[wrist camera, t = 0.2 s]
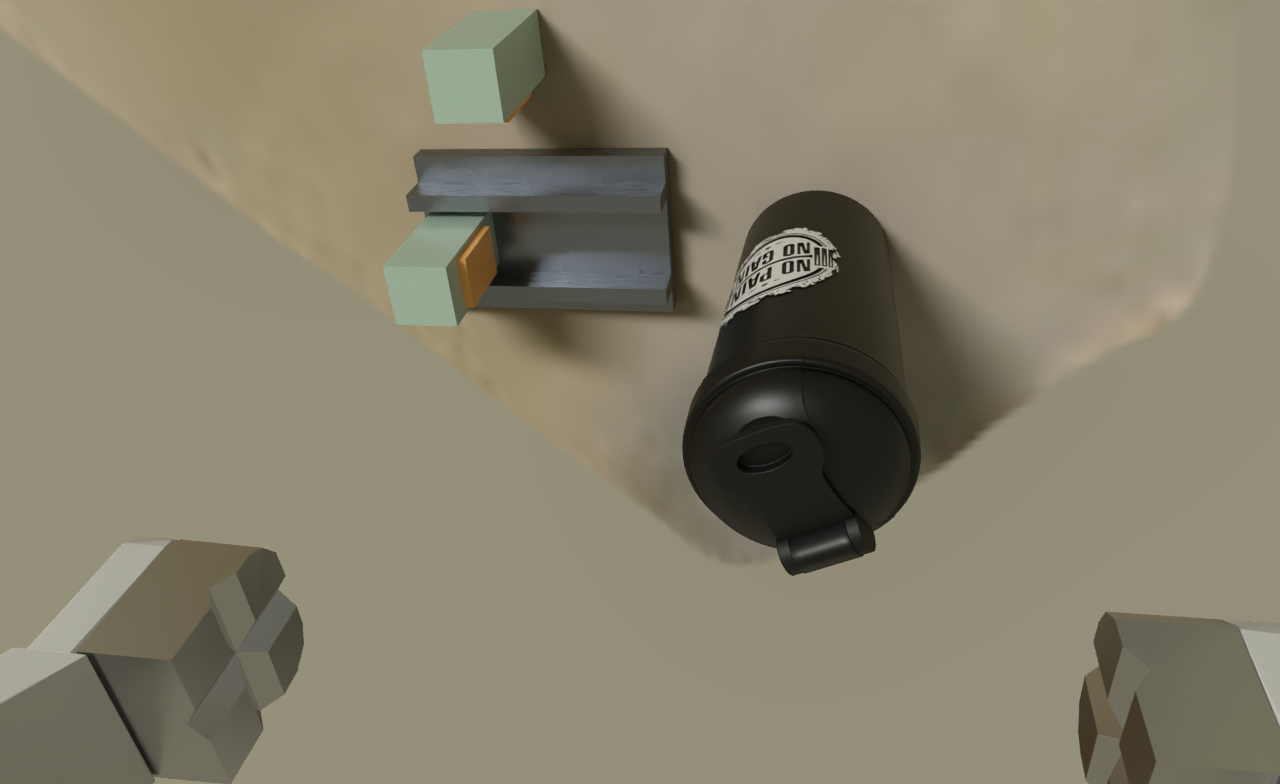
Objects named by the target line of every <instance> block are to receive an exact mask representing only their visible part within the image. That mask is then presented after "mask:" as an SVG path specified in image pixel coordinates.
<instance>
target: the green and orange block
mask: <svg viewBox="0 0 1280 784" xmlns="http://www.w3.org/2000/svg"><path fill="white" fill-rule="evenodd" d="M499 263H500V260H499V254H498V248H497V242H496V235H495V229H494V223H493V217H492V212H430V213H429V214H428V216H427V217H426V218H425V219H424V220H423V221H422V222H421V223H420V225H419V226H418V227H417V228H416V229H415V230H414V231H413V233H412V234H411V235H410V236H409V237H408V238H407V239H406V241H405V242H404V243H403V244H402V245H401V246H400V247H399V249H398V250H397V251H396V252H395V253H394V254H393V255H392V257H391V258H390V259H389V260H388V261H387V262H386V263H385V265H384V266H383V270H384V274H385V278H386V282H387V287H388V291H389V295H390V299H391V304H392V308H393V312H394V316H395V321H396V325H426V326H458V325H459V323H460V322H461V320H462V319H463V317H464V316H465V314H466V313H467V311H468V310H469V308H474V307H475V306H476V304H477V303H478V301H479V300H480V298H481V297H482V295H483V294H484V292H485V291H486V289H487V288H488V286H489V285H490V283H491V282H492V280H493V278H494V277H495V275H496V274H497V268H496V267H497V266H498V264H499Z"/></svg>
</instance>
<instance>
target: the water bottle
mask: <svg viewBox="0 0 1280 784" xmlns="http://www.w3.org/2000/svg"><path fill="white" fill-rule="evenodd" d="M729 296H730V297H728V299H729V300H728V303H727V305H726V308H725V309H726V310H725V312H724V314H723V319H722V321H721V325H720V326H721V327H720V328H719V329H720V330H719V335H717V336H718V338H717V342H716V345H715V349H714V352H713V356H712V359H711V363H710V366H709V369H708V373H707V376H706V377H705V378H704V380H703V382H702V383H701V385H700V386H699V388H698V390H697V391H696V393H695V395H694V397H693V400H692V402H691V405H690V409H689V413H688V417H687V421H686V425H685V429H684V434H683V444H682V449H683V461H684V466H685V470H686V473H687V476H688V478H689V481H690V483H691V485H692V487H693V488H694V490H695V492H696V493H697V495H698V496H699V498H700V499H701V500H702V502H703V503H704V504H705V505H706V506H707V507H708V508H709V509H710V510H711V511H712V512H713V513H714V514H715V515H716V516H717V517H718V518H719V519H721V520H722V521H723V522H724V523H725V524H726V525H728V526H729V527H730V528H732V529H733V530H734V531H736V532H738V533H739V534H741V535H743V536H744V537H746V538H748V539H750V540H753V541H755V542H757V543H760V544H763V545H766V546H769V547H773V548H777V552H778V555H779V558H780V561H781V563H782V565H783V567H784V568H785V570H786V571H787V572H788V573H789V574H790V575H792V576H794V575H797V574H801V573H809V572H812V571H815V570H819V569H822V568H825V567H828V566H832V565H835V564H839V563H842V562H845V561H849V560H852V559H855V558H859V557H862V556H863V555H864V554H867V553H870V552H873V551H875V548H876V542H875V536H874V532H873V531H875V530H876V529H878V528H880V527H881V526H883V525H884V524H885V523H887V522H888V521H890V520H891V519H892V518H893V517H894V516H895V514H896V513H897V512H898V511H899V510H900V509H901V508H902V506H903V505H904V504H905V503H906V501H907V500H908V498H909V496H910V495H911V493H912V491H913V489H914V486H915V484H916V481H917V478H918V474H919V469H920V461H921V449H920V437H919V426H918V421H917V416H916V413H915V410H914V407H913V405H912V403H911V401H910V399H909V397H908V395H907V393H906V387H905V379H904V371H903V363H902V355H901V347H900V339H899V331H898V323H897V315H896V307H895V299H894V291H893V283H892V275H891V267H890V259H889V251H888V244H887V240H886V236H885V234H884V231H883V229H882V227H881V225H880V224H879V222H878V221H877V219H876V218H875V217H874V216H873V214H872V213H871V212H870V211H869V210H868V209H866V208H865V207H864V206H863V205H861V204H860V203H858V202H857V201H855V200H853V199H851V198H849V197H847V196H844V195H841V194H838V193H834V192H828V191H806V192H800V193H796V194H792V195H789V196H787V197H784V198H782V199H780V200H778V201H777V202H775V203H773V204H772V205H771V206H769V207H768V208H767V209H766V210H764V211H763V212H762V213H761V214H760V216H759V217H758V218H757V219H756V221H755V222H754V223H753V225H752V227H751V229H750V231H749V233H748V235H747V238H746V241H745V245H744V248H743V252H742V255H741V259H740V262H739V266H738V269H737V273H736V276H735V280H734V283H733V286H732V289H731V292H730V294H729Z"/></svg>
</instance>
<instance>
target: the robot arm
mask: <svg viewBox="0 0 1280 784" xmlns="http://www.w3.org/2000/svg"><path fill="white" fill-rule="evenodd" d="M284 577H285V573H284V571H283V568H282V566H281V564H280V561H279V559H278V557H277V554H276V552H273V551H270V550H267V549H264V548H258V547H248V546H239V545H230V544H220V543H210V542H201V541H191V540H172V539H163V538H153V537H144V536H139V537H136V538H134V539H131V540H129V541H127V542H124V543H123V544H122V545H121V546H120V547H119V548H118V549H117V550H116V551H115V553H114V554H113V555H112V556H111V557H110V558H109V559H108V560H107V561H106V562H105V564H104V565H103V566H102V567H101V568H100V569H99V570H98V571H97V572H96V573H95V575H94V576H93V577H92V578H91V579H90V580H89V581H88V582H87V583H86V584H85V586H84V587H83V588H82V589H81V590H80V591H79V592H78V593H77V594H76V595H75V596H74V598H73V599H72V600H71V601H70V602H69V603H68V604H67V605H66V606H65V607H64V609H63V610H62V611H61V612H60V613H59V614H58V615H57V616H56V617H55V618H54V620H53V621H52V622H51V623H50V624H49V625H48V626H47V627H46V628H45V630H44V631H43V632H42V633H41V634H40V635H39V636H38V637H37V638H36V639H35V640H34V641H33V643H32V644H31V645H30V646H29V647H28V648H16V647H14V648H12V649H10V650H8V651H6V652H4V653H2V654H0V784H153V783H154V781H155V779H154V778H153V777H160V778H171V779H181V780H191V781H202V782H212V783H222V784H231V783H232V781H233V779H234V777H235V776H236V774H237V773H238V771H239V769H240V767H241V766H242V764H243V763H244V761H245V759H246V758H247V756H248V754H249V753H250V751H251V749H252V748H253V746H254V744H255V743H256V741H257V739H258V738H259V736H260V734H261V733H262V731H263V724H262V718H261V711H260V710H262V709H263V708H265V707H266V706H267V705H269V704H271V703H272V702H273V701H275V700H276V699H278V698H279V697H281V696H282V695H284V694H285V692H286V690H287V689H288V687H289V685H290V683H291V682H292V680H293V678H294V676H295V674H296V673H297V670H298V666H299V662H300V658H301V654H302V650H303V645H304V639H303V623H302V620H301V617H300V614H299V611H298V609H297V606H296V605H295V604H294V603H292V602H291V601H290V600H289V599H288V598H287V597H286V596H285V595H283V594H282V593H281V592H280V591H279V590H278V588H279V587H280V585H281V583H282V581H283V579H284ZM1094 646H1095V650H1096V654H1097V658H1098V663H1099V667H1097V668H1096V669H1094V670H1093V671H1091V672H1090V673H1088V674H1087V675H1086V676H1085V677H1084V682H1083V687H1082V692H1081V697H1080V701H1079V724H1078V734H1079V743H1080V753H1081V758H1082V764H1083V769H1084V774H1085V779H1086V781H1087V782H1088V783H1089V784H1280V623H1267V622H1251V621H1237V620H1229V621H1227V622H1226V621H1224V620H1219V619H1204V618H1189V617H1175V616H1160V615H1145V614H1130V613H1116V612H1105V614H1104V615H1103V617H1102V618H1101V620H1100V621H1099V623H1098V627H1097V631H1096V634H1095V638H1094Z"/></svg>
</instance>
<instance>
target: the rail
mask: <svg viewBox="0 0 1280 784" xmlns="http://www.w3.org/2000/svg"><path fill="white" fill-rule="evenodd" d="M413 158H414V163H415V168H416V173H417V178H418V184H417V185H416V186H415V187H414V188H413V189H412V190H411V191H410V192H409V193H408V194H407V195H406V198H407V202H408V207H409V212H425V217H427V216H428V214H429V213H430V212H492V217H493V223H494V229H495V235H496V242H497V248H498V254H499V260H500V263H499V264H498V266H497V267H496V268H497V274H496V275H495V277H494V278H493V280H492V282H491V283H490V285H489V286H488V288H487V289H486V291H485V292H484V294H483V295H482V297H481V298H480V300H479V301H478V303H477V304H476V306H475V307H493V308H533V309H572V310H612V311H651V312H674V308H675V305H676V290H675V273H674V255H673V238H672V221H671V204H670V187H669V169H668V152H667V148H599V149H443V150H420V151H419V152H418V153H417V154H416V155H415V156H414V157H413Z"/></svg>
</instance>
